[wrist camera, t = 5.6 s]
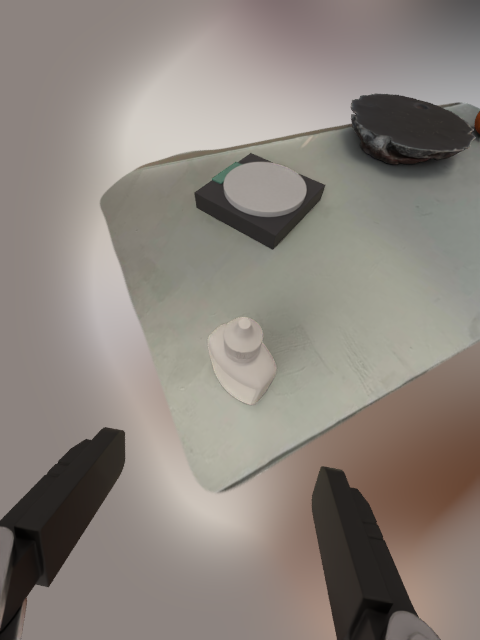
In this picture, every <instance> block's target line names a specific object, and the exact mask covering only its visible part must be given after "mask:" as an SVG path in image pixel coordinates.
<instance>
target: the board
mask: <svg viewBox="0 0 480 640" xmlns="http://www.w3.org/2000/svg"><path fill="white" fill-rule="evenodd" d="M351 110H352V111H353V112H354V113H355V114H356V115H354V114H352V115H351V118H352V119H351V120H352V127H353V128H354V131H355V132H356V133H357V135H358V136H359V137H360V139H361V143H360V147H361V148H362V150H363V149H364V152H365V153H367V154H370V155H371V156H372V157H374V158H376V159H379V160H382V161H384V162H386V163H389V164H399V163H403V164H415V163H417V162H421V161H427V160H428V159H431V158H433V159H435V160H439V159H445V158H448V157H451V156H453V155H455V154H457V153H459V152H461V151H463V150H465V149H467V148H469V147H470V145H471V141H472V140H474V139H475V138H476V137H475V136H474V135H472V134H470V133H471V132H472V131H473V129H472V128H471V127H470V126H469V124H468V123H467V122H466V121H465V120H463V118H460V117H459V116H458V115H456V114H454V113H452V111H448V110H445V109H443V108H441V107H439V106H437V105H433V104H431V103H428V102H424V101H420V100H416V99H413V98H409V97H404V96H399V95H389V94H371V95H368V96H366V95H365V96H364V95H363V96H360V99H355V100H352V103H351Z"/></svg>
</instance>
